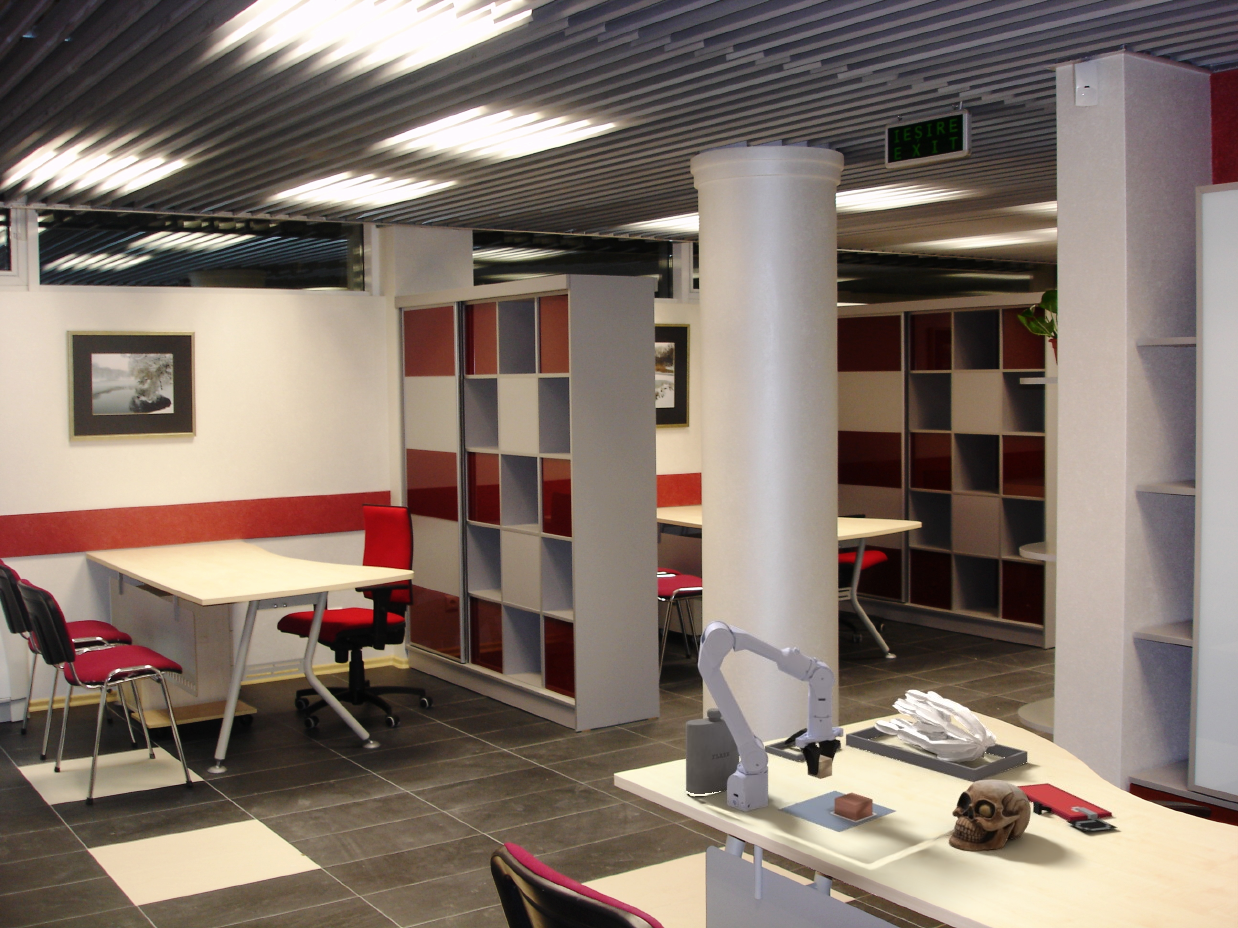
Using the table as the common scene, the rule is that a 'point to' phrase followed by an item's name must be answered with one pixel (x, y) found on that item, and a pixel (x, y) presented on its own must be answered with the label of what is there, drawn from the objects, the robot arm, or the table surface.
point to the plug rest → (776, 751)
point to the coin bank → (989, 815)
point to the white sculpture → (939, 727)
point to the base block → (853, 806)
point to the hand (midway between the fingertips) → (819, 771)
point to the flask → (709, 754)
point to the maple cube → (824, 767)
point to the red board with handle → (1067, 806)
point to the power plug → (795, 736)
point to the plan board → (830, 812)
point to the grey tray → (1010, 761)
